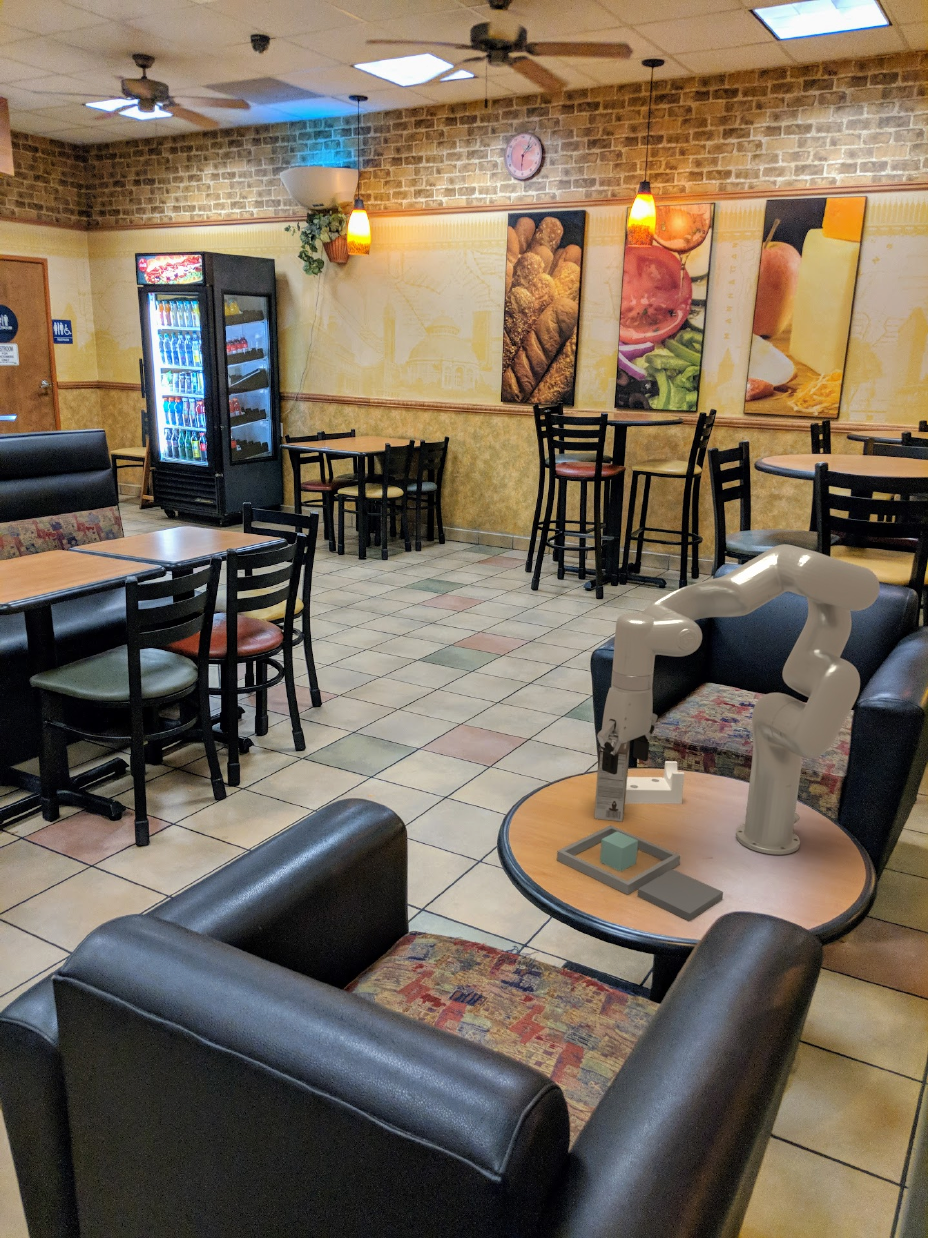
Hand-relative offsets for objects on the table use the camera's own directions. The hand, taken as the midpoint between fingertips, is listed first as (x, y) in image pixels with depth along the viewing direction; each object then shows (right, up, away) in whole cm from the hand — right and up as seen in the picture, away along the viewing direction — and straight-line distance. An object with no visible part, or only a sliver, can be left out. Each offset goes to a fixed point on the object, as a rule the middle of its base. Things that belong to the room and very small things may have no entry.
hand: (625, 765), depth 180 cm
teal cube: (-1, -20, +5) cm, 21 cm away
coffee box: (+1, -15, +27) cm, 31 cm away
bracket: (+12, -13, +35) cm, 39 cm away
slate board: (+9, -23, -7) cm, 26 cm away
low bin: (-1, -20, +5) cm, 20 cm away
